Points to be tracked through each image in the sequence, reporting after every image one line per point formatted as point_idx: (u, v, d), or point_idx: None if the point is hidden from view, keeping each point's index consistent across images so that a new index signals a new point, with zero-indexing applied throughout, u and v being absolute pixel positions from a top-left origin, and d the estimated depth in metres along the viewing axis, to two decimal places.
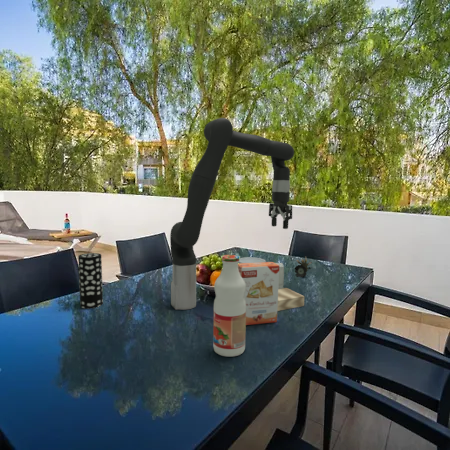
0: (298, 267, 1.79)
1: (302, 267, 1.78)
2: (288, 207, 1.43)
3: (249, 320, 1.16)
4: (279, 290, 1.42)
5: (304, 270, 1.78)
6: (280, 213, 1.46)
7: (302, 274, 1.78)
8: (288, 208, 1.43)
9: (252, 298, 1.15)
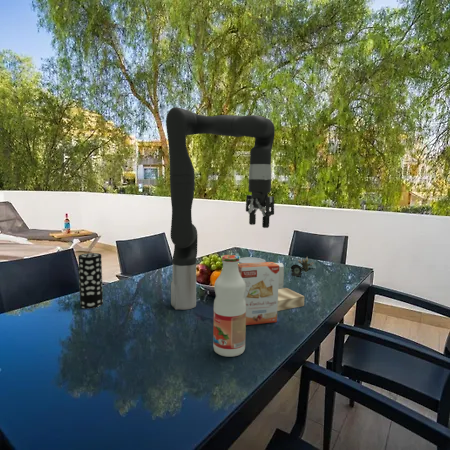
0: (294, 266, 1.80)
1: (298, 267, 1.79)
2: (268, 199, 1.08)
3: (249, 320, 1.16)
4: (279, 290, 1.42)
5: (300, 270, 1.78)
6: (259, 207, 1.12)
7: (298, 274, 1.79)
8: (268, 200, 1.08)
9: (252, 298, 1.15)
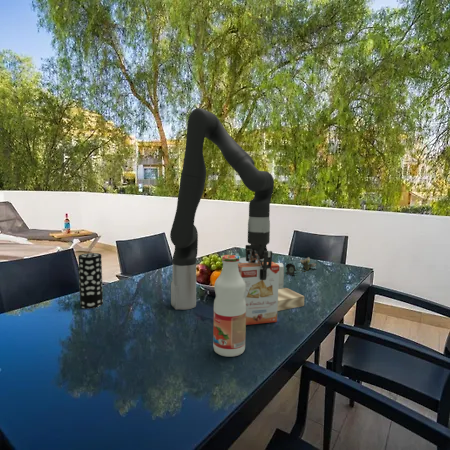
0: (289, 265, 1.83)
1: (292, 266, 1.81)
2: (267, 254, 1.11)
3: (249, 320, 1.16)
4: (279, 290, 1.42)
5: (294, 269, 1.80)
6: (257, 259, 1.14)
7: (292, 273, 1.81)
8: (267, 256, 1.11)
9: (252, 298, 1.16)
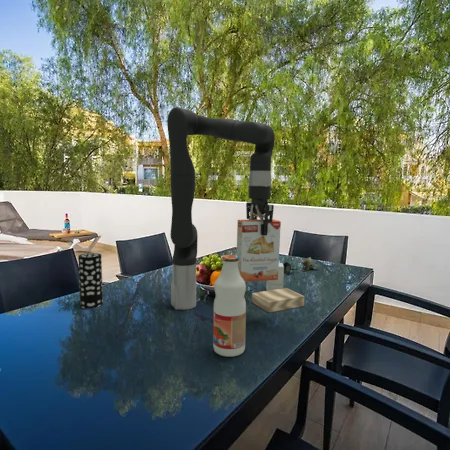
0: (286, 264, 1.85)
1: None
2: (268, 208, 1.09)
3: (249, 276, 1.14)
4: (279, 290, 1.42)
5: (289, 268, 1.82)
6: (258, 214, 1.13)
7: (288, 271, 1.83)
8: (268, 209, 1.09)
9: (253, 254, 1.14)
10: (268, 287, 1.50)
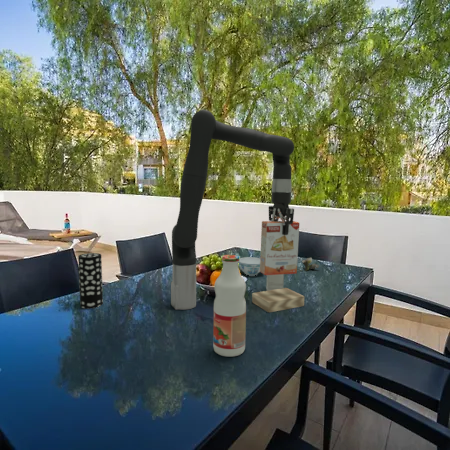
0: None
1: None
2: (289, 211, 1.26)
3: (272, 270, 1.32)
4: (279, 290, 1.42)
5: None
6: (280, 216, 1.30)
7: None
8: (289, 212, 1.26)
9: (276, 251, 1.31)
10: (268, 287, 1.50)
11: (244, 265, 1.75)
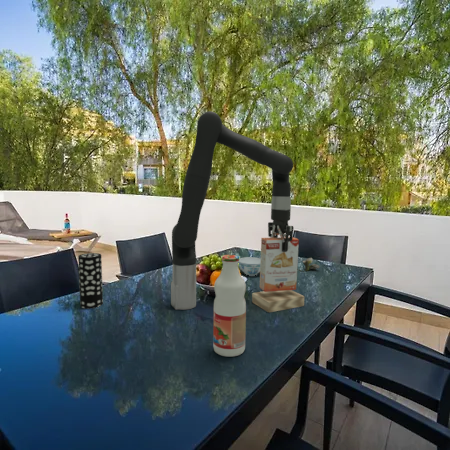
0: None
1: None
2: (289, 229, 1.27)
3: (272, 287, 1.33)
4: None
5: None
6: (279, 233, 1.31)
7: None
8: (289, 230, 1.27)
9: (275, 268, 1.32)
10: None
11: (244, 265, 1.75)
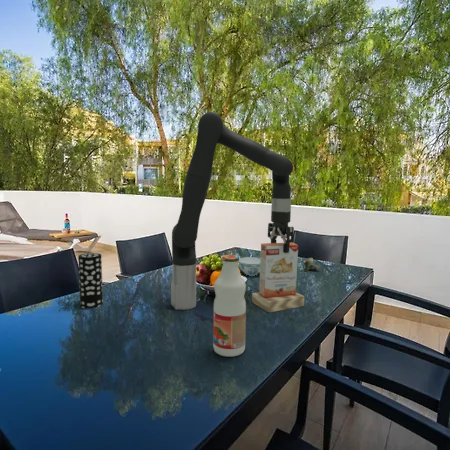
0: None
1: None
2: (289, 229, 1.27)
3: (272, 293, 1.33)
4: None
5: None
6: (280, 235, 1.31)
7: None
8: (289, 230, 1.27)
9: (275, 273, 1.32)
10: None
11: (244, 265, 1.75)
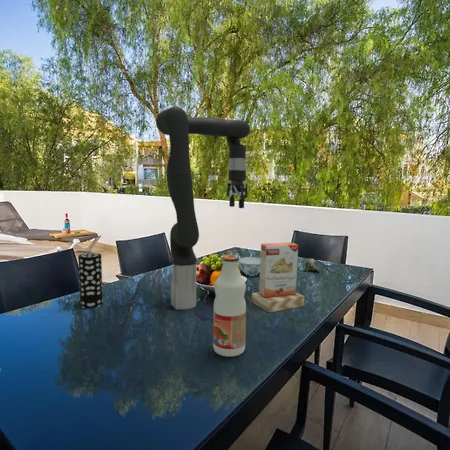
0: None
1: None
2: (243, 185, 1.39)
3: (272, 293, 1.33)
4: None
5: None
6: (236, 192, 1.42)
7: None
8: (243, 186, 1.39)
9: (275, 273, 1.32)
10: None
11: (244, 265, 1.75)
